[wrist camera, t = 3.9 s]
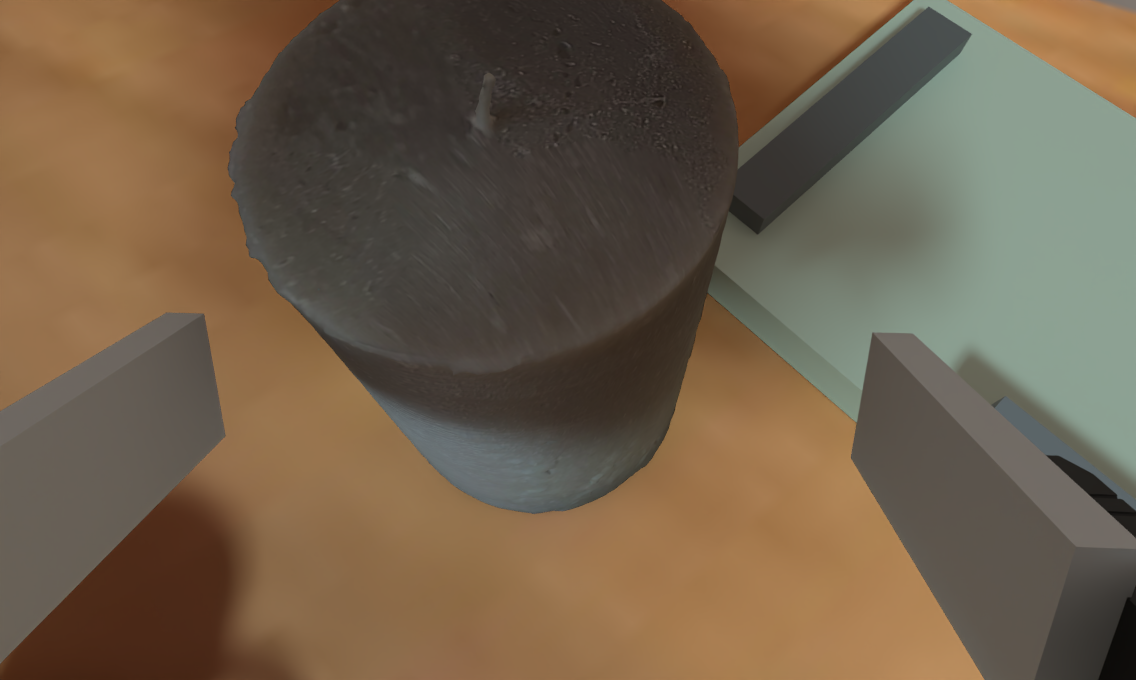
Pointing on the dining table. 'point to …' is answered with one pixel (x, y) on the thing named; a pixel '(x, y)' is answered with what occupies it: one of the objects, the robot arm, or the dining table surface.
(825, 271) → the deck plate
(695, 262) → the pillar candle
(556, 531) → the dining table surface
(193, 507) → the dining table surface
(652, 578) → the dining table surface
